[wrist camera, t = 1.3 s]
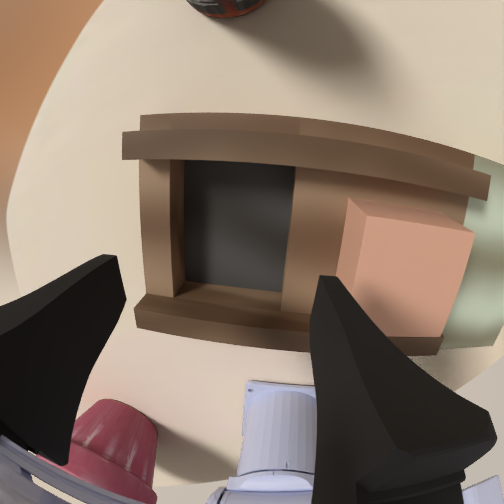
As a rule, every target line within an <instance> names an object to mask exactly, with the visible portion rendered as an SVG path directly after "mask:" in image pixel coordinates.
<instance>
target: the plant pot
mask: <svg viewBox="0 0 504 504" xmlns="http://www.w3.org/2000/svg"><path fill="white" fill-rule="evenodd" d="M157 438H158V432H157V429H156V427H155V426H154V424H153V423H152V422H151V421H150V420H149V419H148V418H147V417H146V416H145V415H143V414H142V413H140V412H139V411H137V410H136V409H134V408H132V407H130V406H128V405H126V404H124V403H121V402H119V401H115V400H111V399H102V400H99V401H97V402H96V403H95V404H94V405H93V406H92V407H91V408H89V409H88V410H87V411H86V412H85V413H83V414H82V415H81V416H80V417H79V418H78V419H77V420H75V423H74V428H73V432H72V438H71V445H70V452H69V462H68V464H67V465H64V466H59V465H57V464H55V463H53V462H51V461H49V460H47V459H46V458H44V457H42V456H40V455H38V454H37V455H36V457H38V458H40V459H42V460H43V461H45V462H47V463H49V464H51V465H52V466H54V467H56V468H58V469H60V470H62V471H64V472H66V473H68V474H70V475H72V476H74V477H77V478H79V479H81V480H83V481H86V482H88V483H90V484H92V485H95V486H97V487H100V488H102V489H105V490H107V491H110V492H113V493H115V494H118V495H121V496H124V497H127V498H130V499H133V500H136V501H139V502H143V503H146V504H156V501H157V495H156V493H155V492H154V491H153V490H152V484H153V475H154V466H155V457H156V447H157Z"/></svg>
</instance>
